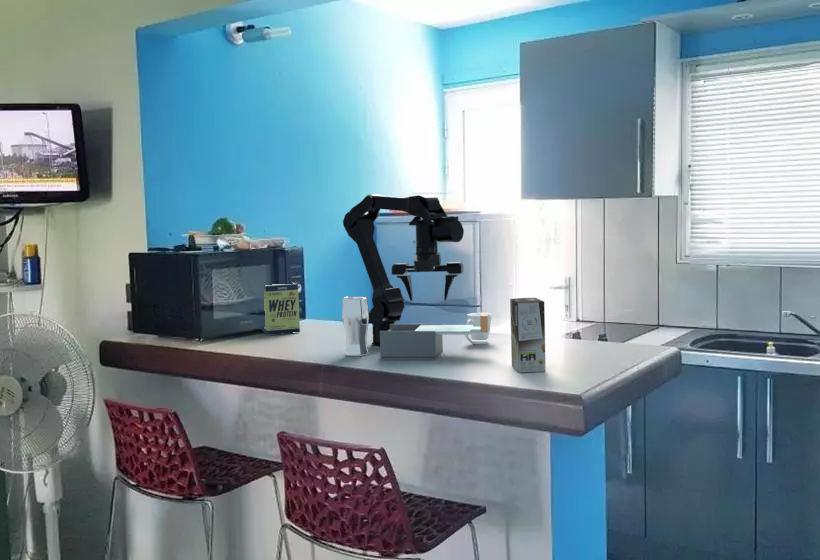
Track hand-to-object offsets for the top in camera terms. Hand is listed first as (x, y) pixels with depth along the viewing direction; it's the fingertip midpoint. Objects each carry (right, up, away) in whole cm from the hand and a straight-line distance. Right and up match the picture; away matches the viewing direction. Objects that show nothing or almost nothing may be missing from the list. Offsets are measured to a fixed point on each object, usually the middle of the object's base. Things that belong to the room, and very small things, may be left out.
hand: (428, 300), depth 215 cm
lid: (+6, -8, -11) cm, 14 cm away
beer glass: (-19, -14, -5) cm, 24 cm away
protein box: (-47, -11, +43) cm, 65 cm away
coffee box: (+22, -15, -30) cm, 40 cm away
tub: (-4, -14, -8) cm, 17 cm away
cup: (+14, -12, +7) cm, 20 cm away
